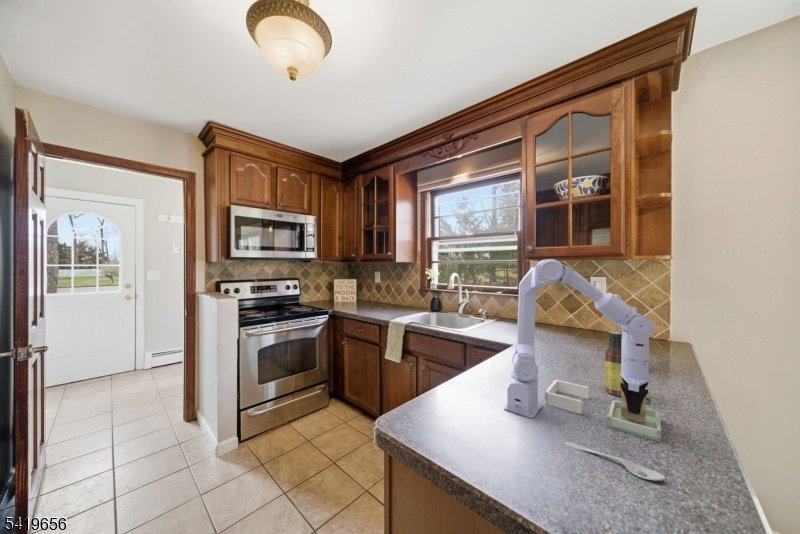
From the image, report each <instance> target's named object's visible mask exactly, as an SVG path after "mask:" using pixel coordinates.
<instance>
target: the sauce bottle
mask: <svg viewBox="0 0 800 534" xmlns="http://www.w3.org/2000/svg"><path fill="white" fill-rule="evenodd" d="M608 341H609V342H608V347H607V348H606V349H605V351H604V352H605V353H604V356H605V357H604V387H605V391H606V393H608V394H610V395H613V396H616V397H621V392H622V389H621V387H620V384H621V383H624V382H623V380H622V377H621V376H620V372H621V342H622V333H620V331H608Z"/></svg>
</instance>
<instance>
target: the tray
mask: <svg viewBox="0 0 800 534" xmlns="http://www.w3.org/2000/svg"><path fill="white" fill-rule="evenodd" d="M608 410H609V411H608V414H607V427H608V428H610V429H614V430H618V431H620V432H624V433H628V434H631V435H634V436H637V437H640V438H644V439H648V440H652V441H654V442H658V443H662V425H661V424H662V423H661V414H660V410H657V409H656V410H655V409H651V408H647V407H646V423H644V422H640V421H637V420H633V419H629V418H625V417H622V416H621V400H620V401H619V400H617V399H616V400H615V399H611V403H610V406H609V409H608Z"/></svg>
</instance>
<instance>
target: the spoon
mask: <svg viewBox="0 0 800 534" xmlns="http://www.w3.org/2000/svg"><path fill="white" fill-rule="evenodd" d="M563 444H564V445H565V444H566V445H567V446H568V447H571V448H573V449H576V450H578V451H583V452H587V453H590V454H596V455H599V456H602V457H606V458H609V459H612V460H615V461H618V462H620V463H622V464H623V466H624V467H625V468H626V470H627V471H629V472H630V473H631V474H633V475H634V476H635V477H639V478H640V479H644V480H648V481H649V480H650V481H664V480H666V476H665V475H663V474H662V473H659V472H657V471H654V470H652V469H649V468H647V467H644V466H642V465H640V464H637V463H634V462H631V461H629V460H626V459H623V458H621V457H618V456H614V455H610V454H606V453H603V452H601V451H599V450H595V449H592V448H588V447H585V446H582V445H579V444H576V443H574V442H570V441H564V443H563ZM638 472H641V473H643V474H646V475H647V476H643V475H640V474H639V473H638Z"/></svg>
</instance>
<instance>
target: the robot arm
mask: <svg viewBox="0 0 800 534" xmlns="http://www.w3.org/2000/svg"><path fill="white" fill-rule="evenodd" d="M555 282H559V283H565V284H568V285H570V286H571V287H573V288H574V289H575V290H577V291H579V292H580V293H581V294H583V295H584V296H586V297H587V298H589V299H590V300H592V301H593V302H594V308H595V310H597V311H598V312H599V313H601V314H602V315H603V316H605V317H607V318H608V319H609V320H611V322H613V323H614V324H616V325H617V326H618V328H619V329H621V331H622V342H621V372H620V376H621V377H622V380H623V382H624V383H621V384H620V387H621V389H622V391H623V393H624V395H625V398H626V403H627V408H628V411H629V413H633V414H637V415H639V413H640V410H641V406H642V402H643V400H644V398H645V396H646V397H647V395H648V394H649V389H646V388H647V387H648V386H649V383H655V382H656V380H655V379H656V378H655V377H652V376H649V374H650V336H651V335H653V333H654V332H655V328H656V326H654V325H653V322H652V320H651V319H650V318H649V317H647V316H646V315H643V314H641V313H638V308H637V307H636V306H635V307H634V306H631V305H629V304H627V302H625V301H624V300H622V298H623V297H622V296H620V295H619V294H617V293H615V294H614V293H612V292H605V293H604V292H602V291H601V290H600V289H599V288H597V287H596V286H595V285H593V284H592V283H591V282H590V281H588V280H587V279H585V277H584V276H582V275H580V274H579V273H578V272H577V271H575V270H573V269H572V268H571V267H569V266H568V265H565V264H562V263H561V262H560V261H559V260H557V259H554V258H548V259H547V258H546V259H542V260H539V261H538V262H536V263H534V264H533V265H532V266H531V267H530V268H529V270H528V271H527V273H526V274H525V275H524V276H523V278H522V279H521V280H520V281H519V284H518V299H517V300H518V302H517V304H518V305H517V306H518V307H517V329H516V331H517V333H516V334H517V335H516V344H515V352H514V353H513V355H512V359H511V360H512V365H513V370H512V371H511V373H510V376H511V377H510V378H511V379H510V384H509V385H508V387H507V394H506V395H507V397H506V398H507V400H506V401H507V402H506V403H507V404H506V405H504V407H503V410H506V411H508V412H512V413H515V414H517V415H521V416H524V417H527V418H530V419H534V418H535V417H536V416H537V414H538V412H539V411H540V410H541V409H542V407H543V405H542V403H538V396H539V395H538V394H539V393H538V391H539V386H538V385H539V377H538V374H539V367H538V365H537V363H536V354H535V335H536V334H535V333H536V331H535V330H536V310H537V309H536V305H537V304H536V303H537V292H538V291H539V290H541V289H543V288H544V287H545V286H546V285H549V284H551V283H552V284H553V283H555ZM625 331H626V332H625ZM627 332H628V333H627Z"/></svg>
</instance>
